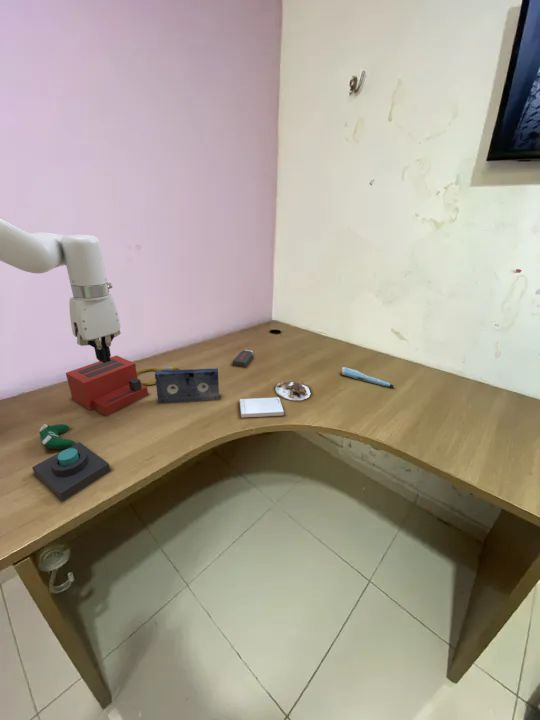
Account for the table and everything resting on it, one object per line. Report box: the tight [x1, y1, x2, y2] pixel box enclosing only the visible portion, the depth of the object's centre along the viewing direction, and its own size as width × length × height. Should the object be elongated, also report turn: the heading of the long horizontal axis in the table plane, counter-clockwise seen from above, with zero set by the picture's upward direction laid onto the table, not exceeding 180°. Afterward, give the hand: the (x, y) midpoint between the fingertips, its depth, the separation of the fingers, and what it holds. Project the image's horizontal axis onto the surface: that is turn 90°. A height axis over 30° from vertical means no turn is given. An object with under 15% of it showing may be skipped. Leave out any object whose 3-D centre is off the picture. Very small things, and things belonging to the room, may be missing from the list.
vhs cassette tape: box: [154, 368, 220, 404], centre depth 94 cm, size 18×3×10 cm, turn 99°
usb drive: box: [232, 349, 254, 369], centre depth 123 cm, size 5×12×3 cm, turn 166°
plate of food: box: [274, 381, 311, 401], centre depth 102 cm, size 12×12×4 cm
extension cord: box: [136, 365, 178, 387], centre depth 108 cm, size 12×16×2 cm
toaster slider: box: [129, 377, 142, 391], centre depth 94 cm, size 2×2×3 cm
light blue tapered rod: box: [341, 366, 395, 388], centre depth 112 cm, size 19×3×3 cm, turn 60°
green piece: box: [38, 423, 75, 450], centre depth 76 cm, size 9×4×6 cm
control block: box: [31, 441, 111, 502], centre depth 67 cm, size 12×10×4 cm
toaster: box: [65, 355, 149, 417], centre depth 94 cm, size 16×16×9 cm
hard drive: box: [239, 396, 285, 419], centre depth 93 cm, size 2×8×12 cm
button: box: [57, 448, 79, 466], centre depth 66 cm, size 4×4×2 cm
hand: (104, 360), depth 81 cm, fingers closed
